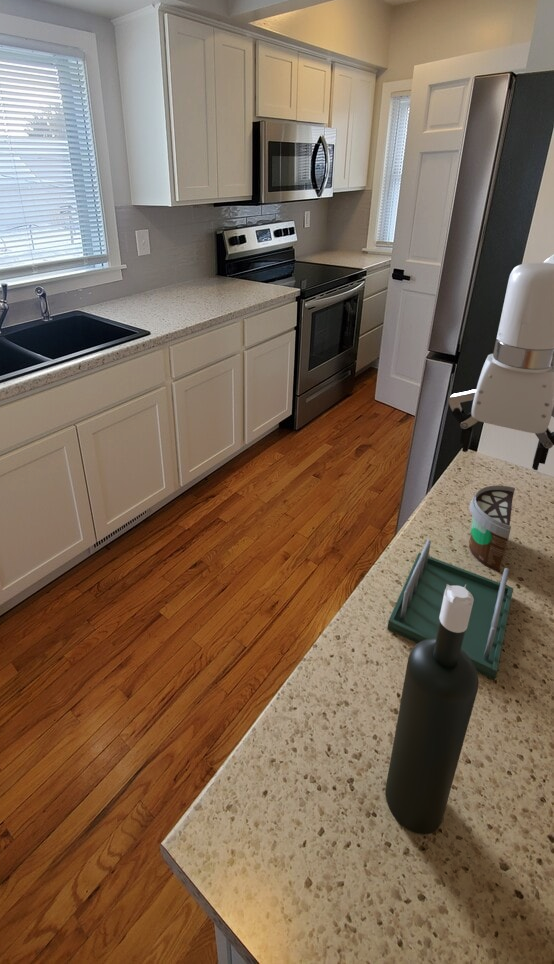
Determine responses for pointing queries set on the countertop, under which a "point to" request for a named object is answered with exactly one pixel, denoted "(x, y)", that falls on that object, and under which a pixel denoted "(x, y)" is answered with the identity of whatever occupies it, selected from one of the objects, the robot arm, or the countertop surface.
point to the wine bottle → (432, 719)
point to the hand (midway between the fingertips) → (499, 456)
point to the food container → (491, 524)
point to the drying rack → (424, 603)
